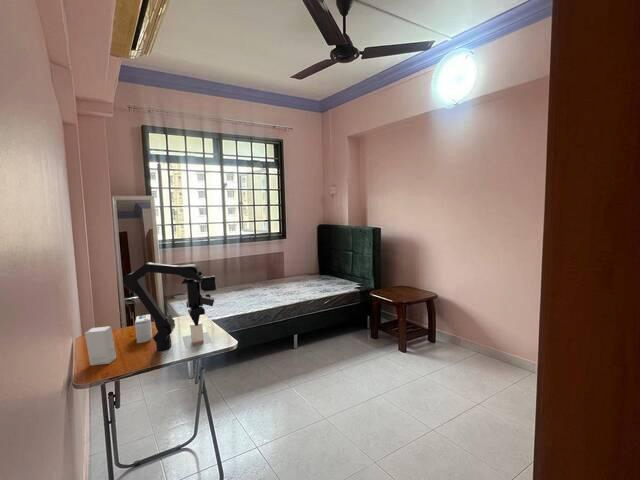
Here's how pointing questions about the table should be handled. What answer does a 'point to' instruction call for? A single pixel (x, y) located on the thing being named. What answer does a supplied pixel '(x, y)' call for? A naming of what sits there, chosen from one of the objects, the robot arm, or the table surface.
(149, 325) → the light bulb box
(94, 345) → the skincare box
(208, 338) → the board
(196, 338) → the cream block
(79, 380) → the table surface
